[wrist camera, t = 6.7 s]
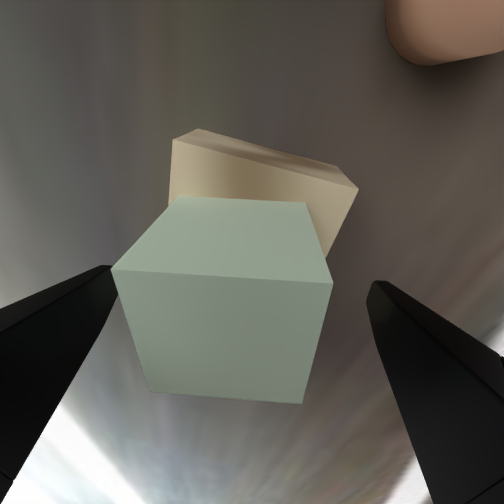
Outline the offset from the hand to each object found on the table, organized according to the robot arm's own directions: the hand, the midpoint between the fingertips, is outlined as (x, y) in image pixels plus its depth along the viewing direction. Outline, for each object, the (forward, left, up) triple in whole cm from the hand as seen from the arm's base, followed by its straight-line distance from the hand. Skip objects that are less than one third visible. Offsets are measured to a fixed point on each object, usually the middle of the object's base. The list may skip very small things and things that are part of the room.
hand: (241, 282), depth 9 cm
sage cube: (0, 0, -2) cm, 3 cm away
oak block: (0, 0, -6) cm, 6 cm away
